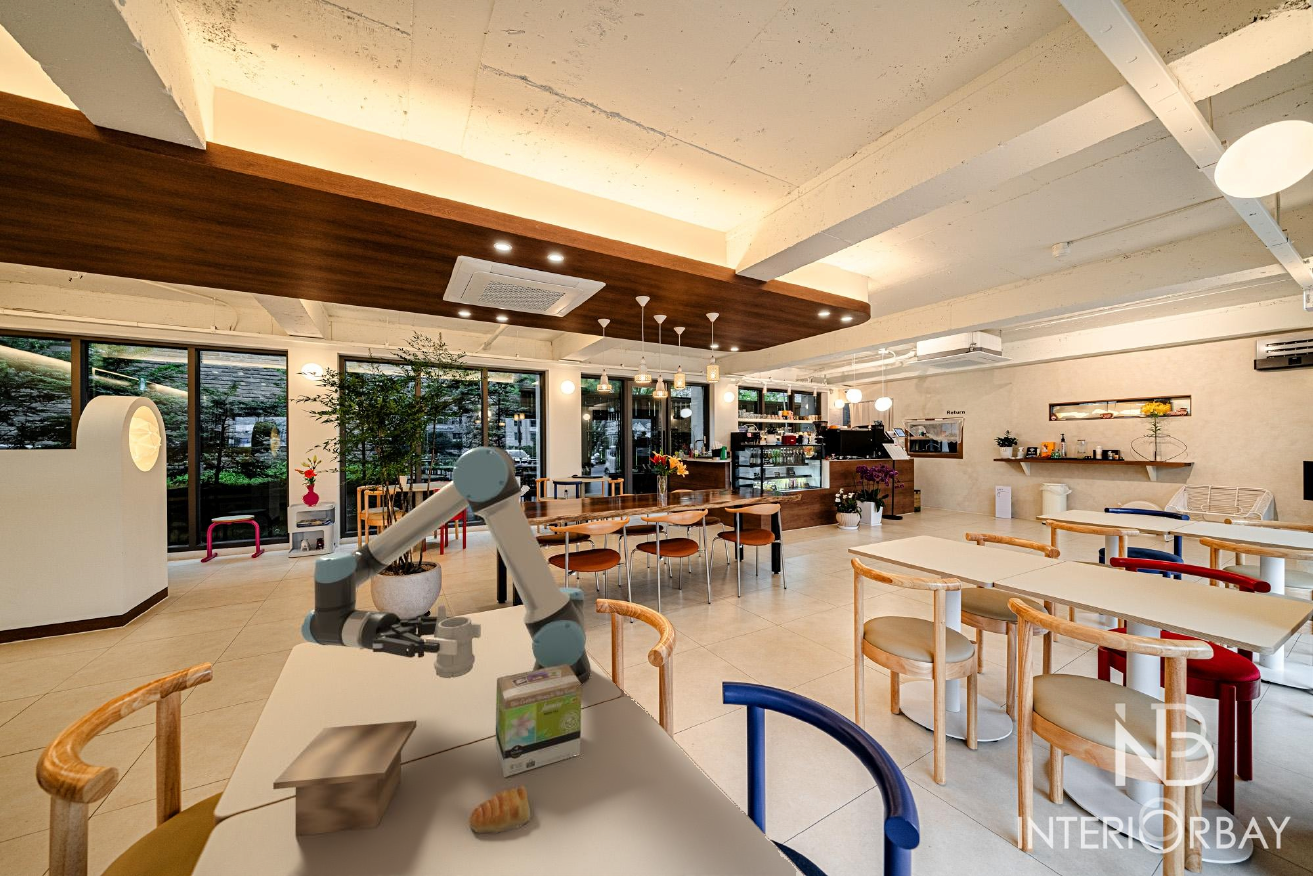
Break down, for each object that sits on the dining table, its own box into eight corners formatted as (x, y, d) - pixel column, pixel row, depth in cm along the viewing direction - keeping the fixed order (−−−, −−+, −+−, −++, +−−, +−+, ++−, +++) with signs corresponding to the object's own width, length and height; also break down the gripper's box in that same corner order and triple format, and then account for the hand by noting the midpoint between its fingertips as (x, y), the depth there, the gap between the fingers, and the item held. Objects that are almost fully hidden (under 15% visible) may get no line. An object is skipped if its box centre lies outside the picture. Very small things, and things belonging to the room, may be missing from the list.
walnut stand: (416, 773, 89) (416, 720, 89) (384, 835, 75) (384, 772, 75) (323, 782, 87) (323, 727, 87) (273, 848, 73) (273, 782, 73)
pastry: (471, 846, 73) (471, 821, 73) (467, 815, 79) (468, 792, 79) (532, 824, 77) (532, 801, 78) (524, 797, 84) (524, 775, 84)
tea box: (503, 781, 87) (503, 700, 87) (495, 749, 96) (495, 676, 96) (582, 756, 94) (582, 681, 94) (567, 728, 103) (567, 660, 103)
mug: (445, 683, 92) (445, 621, 92) (418, 665, 100) (418, 608, 100) (481, 668, 98) (481, 610, 98) (453, 652, 106) (453, 598, 106)
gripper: (407, 629, 112) (495, 637, 107) (331, 670, 92) (435, 682, 87) (407, 597, 112) (495, 603, 107) (331, 631, 92) (435, 641, 87)
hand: (468, 639), depth 97 cm, fingers closed on mug, 7 cm apart
